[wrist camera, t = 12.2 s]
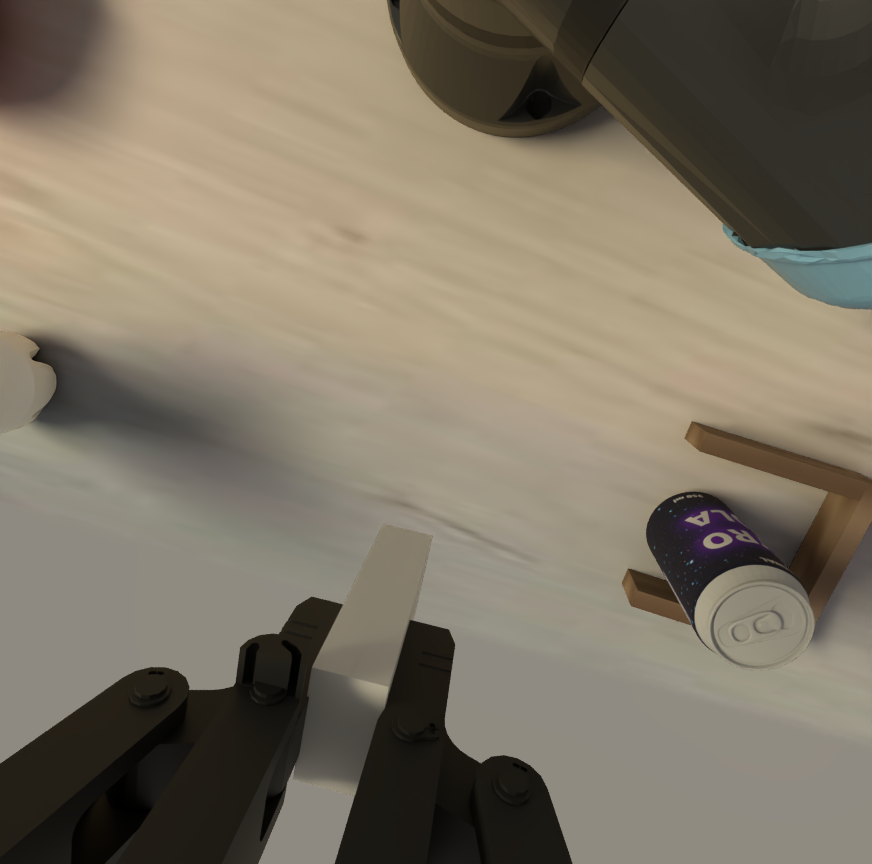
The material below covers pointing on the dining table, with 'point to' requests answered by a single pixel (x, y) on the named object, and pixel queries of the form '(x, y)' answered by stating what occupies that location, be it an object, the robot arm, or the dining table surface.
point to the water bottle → (22, 381)
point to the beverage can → (730, 583)
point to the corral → (825, 541)
